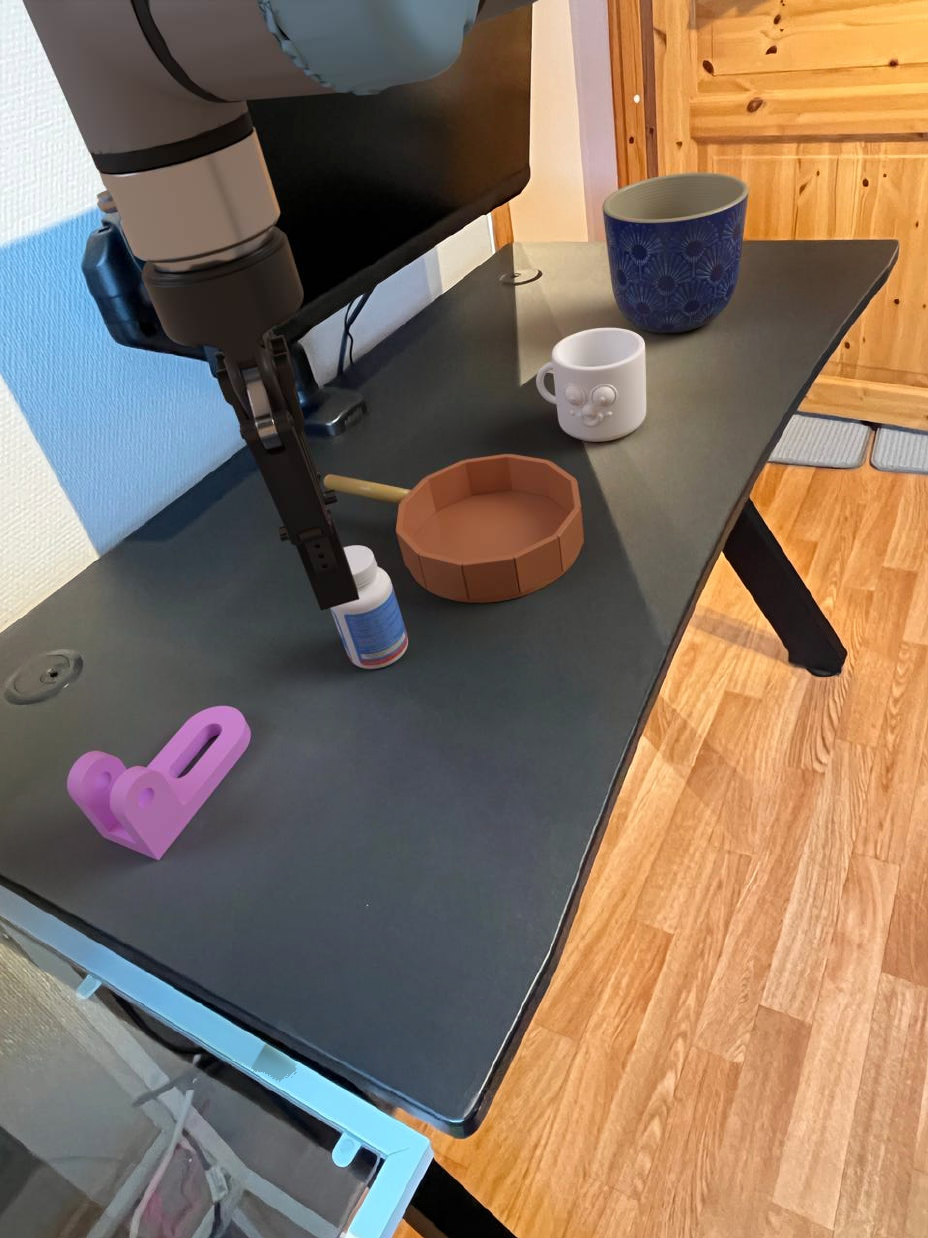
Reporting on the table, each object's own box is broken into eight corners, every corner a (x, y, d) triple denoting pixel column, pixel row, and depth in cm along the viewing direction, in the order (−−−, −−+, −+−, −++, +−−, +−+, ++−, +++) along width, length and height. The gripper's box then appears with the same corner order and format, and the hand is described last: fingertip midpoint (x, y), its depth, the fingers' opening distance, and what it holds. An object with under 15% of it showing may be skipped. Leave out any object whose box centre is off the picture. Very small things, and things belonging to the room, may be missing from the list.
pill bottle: (421, 637, 73) (397, 548, 66) (384, 679, 70) (354, 590, 63) (373, 620, 76) (345, 533, 69) (335, 659, 73) (302, 572, 66)
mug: (526, 447, 93) (516, 371, 87) (552, 400, 100) (544, 327, 94) (635, 452, 88) (632, 372, 82) (654, 403, 95) (653, 326, 89)
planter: (753, 292, 112) (761, 168, 102) (726, 351, 102) (732, 218, 92) (629, 291, 119) (625, 174, 109) (591, 345, 109) (583, 222, 99)
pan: (611, 510, 82) (609, 469, 79) (531, 622, 72) (525, 581, 69) (378, 465, 95) (369, 430, 92) (284, 555, 85) (270, 518, 82)
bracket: (158, 860, 60) (115, 803, 55) (103, 837, 62) (57, 780, 58) (264, 726, 68) (234, 666, 63) (211, 710, 70) (179, 651, 66)
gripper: (143, 228, 47) (278, 560, 62) (128, 306, 37) (293, 678, 52) (274, 193, 47) (376, 531, 63) (294, 262, 37) (409, 643, 53)
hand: (338, 598), depth 57 cm, fingers closed
